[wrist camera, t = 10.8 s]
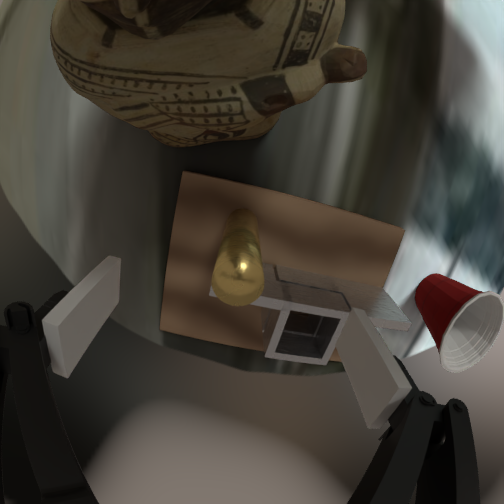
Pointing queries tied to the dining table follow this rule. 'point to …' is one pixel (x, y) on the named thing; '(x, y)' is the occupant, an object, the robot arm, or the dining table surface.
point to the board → (272, 251)
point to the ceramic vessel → (201, 61)
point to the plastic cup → (459, 320)
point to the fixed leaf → (353, 293)
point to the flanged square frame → (301, 300)
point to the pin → (239, 261)
